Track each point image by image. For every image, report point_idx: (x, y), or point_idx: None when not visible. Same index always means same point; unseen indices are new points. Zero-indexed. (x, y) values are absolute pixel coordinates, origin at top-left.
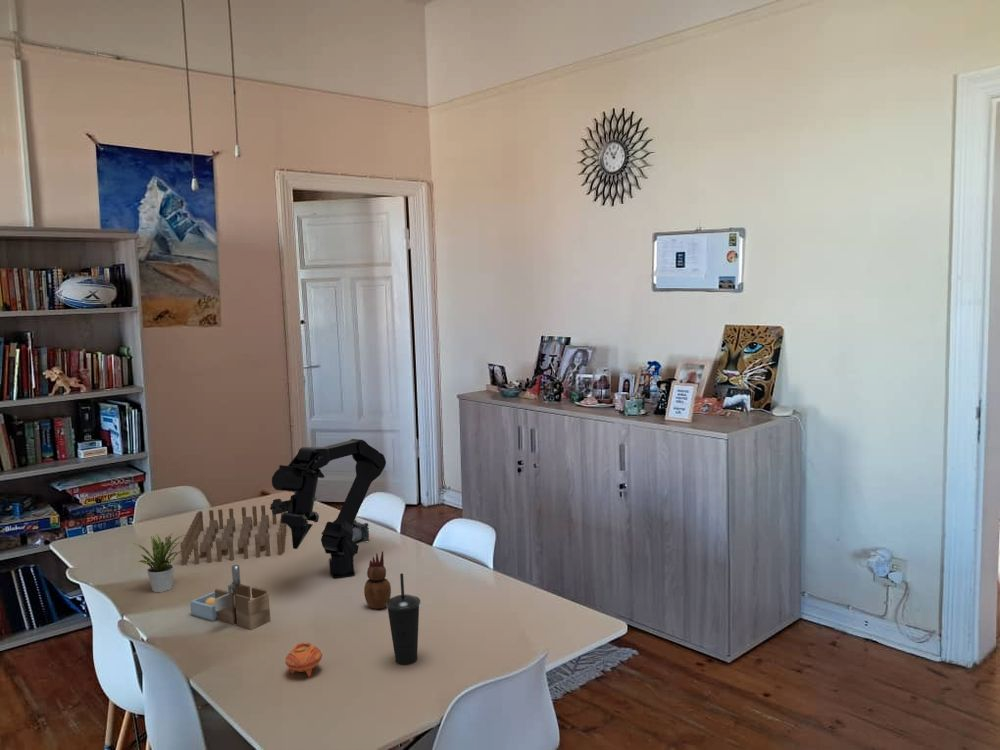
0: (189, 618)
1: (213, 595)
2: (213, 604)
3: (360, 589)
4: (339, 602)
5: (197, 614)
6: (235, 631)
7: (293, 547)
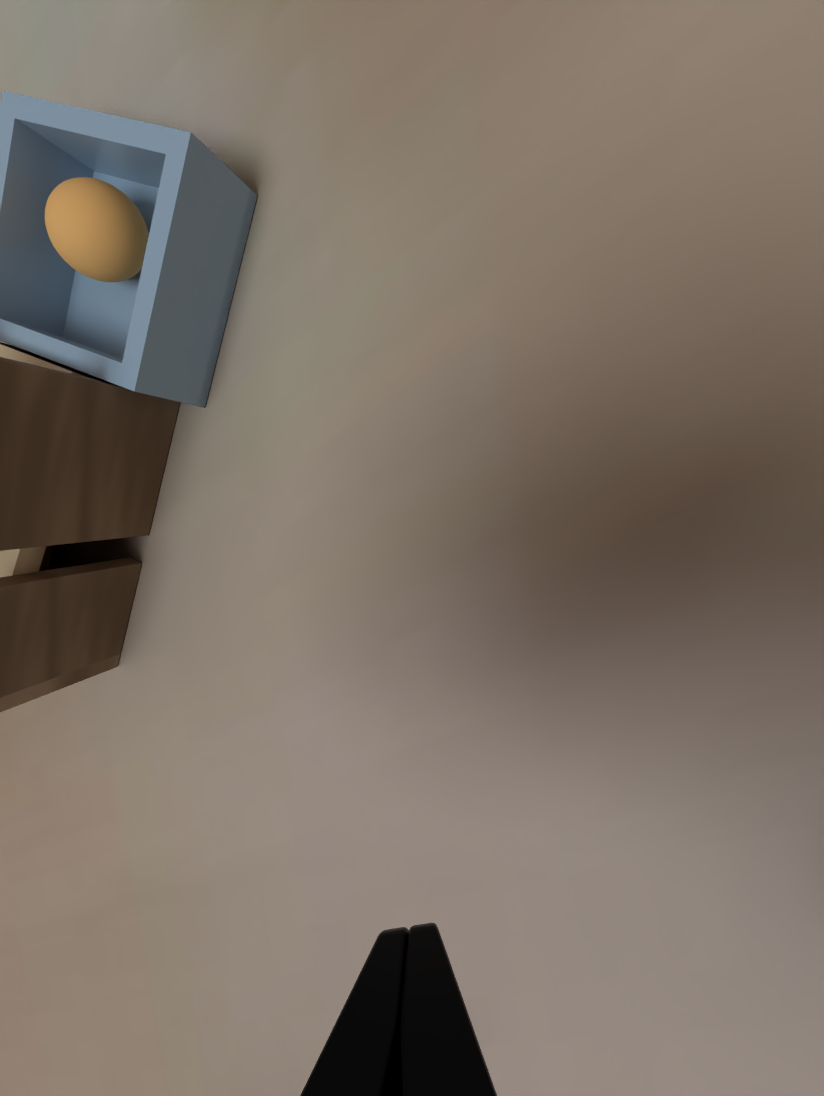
0: None
1: (152, 158)
2: (71, 266)
3: (619, 1092)
4: None
5: None
6: None
7: (375, 954)
